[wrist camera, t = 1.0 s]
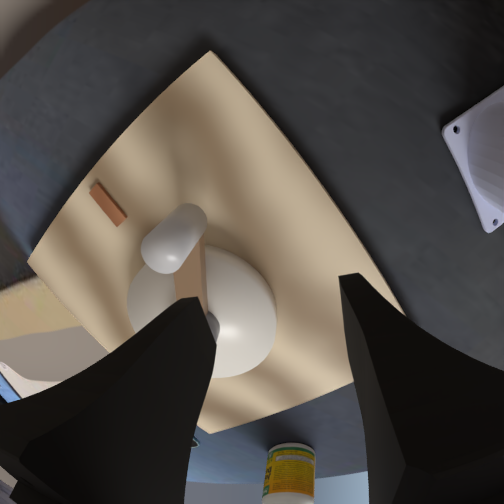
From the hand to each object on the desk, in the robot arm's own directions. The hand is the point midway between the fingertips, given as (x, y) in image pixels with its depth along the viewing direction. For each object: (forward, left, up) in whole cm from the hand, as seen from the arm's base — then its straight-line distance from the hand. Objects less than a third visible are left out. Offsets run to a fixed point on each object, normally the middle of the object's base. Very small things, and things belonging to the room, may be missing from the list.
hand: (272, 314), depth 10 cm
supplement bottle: (+15, +23, -11) cm, 30 cm away
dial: (+7, +1, -9) cm, 12 cm away
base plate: (+8, +2, -10) cm, 13 cm away
